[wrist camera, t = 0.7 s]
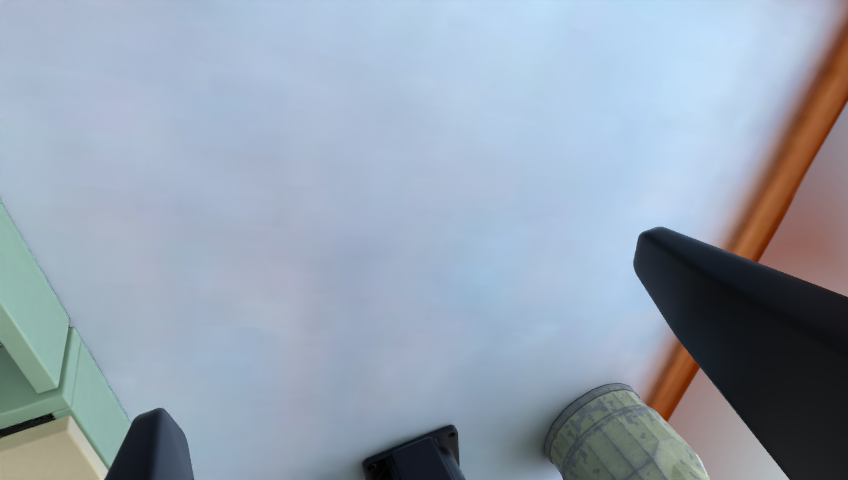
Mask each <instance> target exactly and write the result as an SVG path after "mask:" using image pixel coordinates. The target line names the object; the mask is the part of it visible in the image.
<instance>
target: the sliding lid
mask: <svg viewBox="0 0 848 480" xmlns="http://www.w3.org/2000/svg"><path fill="white" fill-rule="evenodd" d="M107 473H108V470H107V468H106V467H105V465H104V464H103V463H102V461H101V460H100V458H99V457H98V455H97V454H96V452H95V451H94V449H93V448H92V446H91V445H90V443H89V442H88V440H87V439H86V437H85V436H84V434H83V433H82V431H81V430H80V429H79V427H78V426H77V424H76V423H75V421H74V420H73V418H72V417H71V416H65V417H62V418H59V419H56V420H53V421H50V422H47V423H44V424H41V425H38V426H35V427H32V428H29V429H26V430H23V431H20V432H17V433H14V434H11V435H8V436H5V437H2V438H0V480H104V479H105V477H106V475H107Z"/></svg>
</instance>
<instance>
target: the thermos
mask: <svg viewBox="0 0 848 480" xmlns="http://www.w3.org/2000/svg"><path fill="white" fill-rule="evenodd" d="M545 451H546V454H547V456H548V458H549V459H550V461H551V462H552V463H553V464H554V465H555V466H556V468H557V469H558V471H559V472H560V473H561V475H562V476H563V477H562V478H563V480H710V478H709V476H708V474H707V472H706V470H705V468H704V466H703V463H702V461H701V459H700V457H699V456H698V455H697V454H696V452H695V451H694V450H693V449H692V448H691V447H690V446H689V445H688V444H687V443H686V442H685V441H684V440H683V439H682V438H681V437H680V436H679V435H678V434H677V432H676V431H675V430H674V429H673V428H672V427H671V426H670V425H669V424H668V423H667V422H666V421H665V420H664V419H663V418H662V417H661V416H660V415H659V414H658V413H657V412H656V411H655V410H654V409H652V408H650V407H648V406H646V405H645V404H644V403H643V401H642V400H641V399H640V397H639V396H638V395H637V394H636V393H635V392H634V391H633V390H632V388H631V387H630V386H628V385H624V384H620V383H617V384H609V385H605V386H602V387H600V388H597V389H594V390H592V391H590V392H589V393H587V394H585V395H584V396H582V397H580V398H579V399H577V400H576V401H575V402H574V403H572V404H571V405H570V406H569V407H568V408H567V409H566V410H564V411H563V412H562V414H561V415H560V416H559V417H558V419H557V420H556V421H555V422H554V424H553V425H552V427H551V429H550V431H549V433H548V435H547V437H546V443H545Z"/></svg>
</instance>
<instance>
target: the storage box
mask: <svg viewBox="0 0 848 480" xmlns="http://www.w3.org/2000/svg"><path fill="white" fill-rule="evenodd" d="M69 322H70V318H69V316H68V315H67V313H66V311H65V310H64V308H63V306H62V304H61V303H60V301H59V299H58V298H57V296H56V294H55V293H54V291H53V289H52V287H51V286H50V284H49V282H48V281H47V279H46V277H45V275H44V274H43V272H42V270H41V269H40V267H39V265H38V264H37V262H36V260H35V258H34V257H33V255H32V253H31V252H30V250H29V248H28V247H27V245H26V243H25V241H24V240H23V238H22V236H21V235H20V233H19V231H18V229H17V228H16V226H15V224H14V223H13V221H12V219H11V218H10V216H9V214H8V212H7V211H6V209H5V207H4V206H3V204H2V202H1V200H0V342H1V343H2V345H3V346H4V347H1V348H0V430H1V429H4V428H7V427H10V426H13V425H16V424H19V423H22V422H25V421H28V420H31V419H34V418H37V417H41V416H44V415H47V414H50V413H52V415H53V417H54V418H55V419H59V418H62V417H65V416H71V417H72V418H73V420H74V421H75V423H76V424H77V426H78V427H79V429H80V430H81V431H82V433H83V434H84V436H85V437H86V439H87V440H88V442H89V443H90V445H91V446H92V448H93V449H94V451H95V452H96V454H97V455H98V457H99V458H100V460H101V461H102V463H103V464H104V465H105V467H106V468H107V470H108V471H109V469H110V467H111V465H112V463H113V461H114V459H115V457H116V455H117V452H118V450H119V448H120V446H121V444H122V442H123V440H124V438H125V436H126V434H127V432H128V430H129V428H130V426H131V422H130V420H129V419H128V417H127V415H126V414H125V412H124V410H123V408H122V407H121V405H120V403H119V402H118V400H117V398H116V397H115V395H114V393H113V391H112V390H111V388H110V386H109V385H108V383H107V381H106V380H105V378H104V376H103V374H102V373H101V371H100V369H99V368H98V366H97V364H96V362H95V361H94V359H93V357H92V356H91V354H90V352H89V351H88V349H87V347H86V345H85V344H84V342H83V340H82V339H81V337H80V335H79V334H78V332H77V330H76V328H75V327H70V328H68V327H69Z"/></svg>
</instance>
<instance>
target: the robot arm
mask: <svg viewBox="0 0 848 480" xmlns="http://www.w3.org/2000/svg"><path fill="white" fill-rule="evenodd" d="M633 265H634V270H635V272H636V274H637V276H638V278H639V279H640V281H641V282H642V284H643V285H644V287H645V289H646V290H647V292H648V293H649V295H650V296H651V298H652V300H653V301H654V303H655V304H656V306H657V308H658V309H659V311H660V312H661V314H662V315H663V317H664V319H665V320H666V322H667V323H668V325H669V326H670V328H671V329H672V331H673V332H674V334H675V335H676V337H677V338H678V339H679V341H680V342H681V343H682V345H683V346H684V347H685V348H686V350H687V351H688V352H689V354H690V355H691V356H692V357H693V359H694V360H695V361H696V362H697V364H698V365H699V366H700V367H701V369H702V370H703V371H704V372H705V374H706V375H707V376H708V377H709V379H710V380H711V381H712V382H713V384H714V385H715V386H716V388H717V389H718V390H719V391H720V393H721V394H722V395H723V396H724V398H725V399H726V400H727V401H728V403H729V404H730V405H731V406H732V408H733V409H734V410H735V411H736V413H737V414H738V415H739V416H740V418H741V419H742V420H743V421H744V423H745V424H746V425H747V427H748V428H749V429H750V430H751V431H752V433H753V434H754V435H755V437H756V438H757V439H758V440H759V442H760V443H761V444H762V445H763V447H764V448H765V449H766V450H767V452H768V453H769V454H770V455H771V457H772V458H773V459H774V460H775V462H776V463H777V464H778V466H779V467H780V468H781V469H782V471H783V472H784V473H785V474H786V476H787V477H788V478H789V479H790V480H848V297H846V296H843V295H841V294H838V293H836V292H833V291H830V290H828V289H825V288H822V287H820V286H817V285H815V284H812V283H809V282H807V281H804V280H801V279H799V278H796V277H793V276H791V275H788V274H785V273H783V272H780V271H777V270H775V269H772V268H770V267H767V266H764V265H762V264H759V263H757V262H754V261H751V260H749V259H746V258H743V257H741V256H738V255H736V254H733V253H730V252H728V251H725V250H722V249H720V248H717V247H714V246H712V245H709V244H707V243H704V242H701V241H699V240H696V239H693V238H691V237H688V236H685V235H683V234H680V233H678V232H675V231H672V230H670V229H667V228H664V227H655V228H653V229H650V230H647V231H644V232H642V233H641V234H640V235H639V237H638V241H637V246H636V251H635V256H634V261H633ZM362 468H363V472H364V477H365V480H466V479H465V477H464V475H463V473H462V471H461V469H460V465H459V447H458V432H457V430H456V428H455V426H454V425H449V426H446V427H443V428H441V429H439V430H436V431H434V432H431V433H429V434H426V435H424V436H421V437H419V438H416V439H414V440H412V441H409V442H407V443H404V444H402V445H399V446H397V447H394V448H392V449H389V450H387V451H385V452H382V453H380V454H377V455H375V456H372V457H370V458H368V459H366V460H365V461H364V462H363V463H362ZM104 480H194V476H193V471H192V465H191V459H190V454H189V448H188V443H187V439H186V437H185V434H184V432H183V431H182V430H181V428H180V427H179V426H178V425H177V423H176V422H175V421H174V420H173V418H172V417H171V416H170V415H169V413H168V412H167V411H166V410H165V409H163V408H157V409H154V410H151V411H149V412H146V413H143V414H140V415H139V416H137V417H136V418H135V419H134V420H133V422H132V424H131V426H130V428H129V430H128V432H127V434H126V436H125V438H124V440H123V442H122V444H121V446H120V448H119V450H118V452H117V455H116V457H115V459H114V461H113V463H112V465H111V467H110V469H109V471H108V473H107V475H106V477H105V479H104Z"/></svg>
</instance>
